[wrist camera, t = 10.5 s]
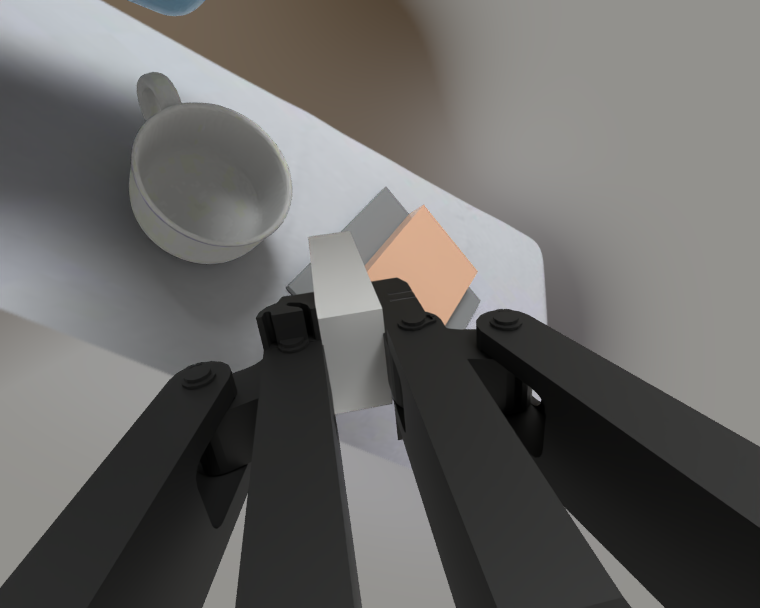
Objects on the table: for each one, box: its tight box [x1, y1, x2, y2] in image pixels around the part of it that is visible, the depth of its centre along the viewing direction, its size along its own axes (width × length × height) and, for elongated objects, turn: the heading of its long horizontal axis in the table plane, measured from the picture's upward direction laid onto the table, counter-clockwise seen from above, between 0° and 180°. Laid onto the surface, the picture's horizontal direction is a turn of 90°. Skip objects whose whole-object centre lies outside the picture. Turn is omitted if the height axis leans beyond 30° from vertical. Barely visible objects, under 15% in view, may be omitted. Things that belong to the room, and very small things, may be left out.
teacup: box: [129, 72, 292, 264], centre depth 34 cm, size 14×11×8 cm
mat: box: [286, 187, 480, 399], centre depth 47 cm, size 18×18×1 cm
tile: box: [365, 205, 478, 325], centre depth 47 cm, size 10×3×13 cm
